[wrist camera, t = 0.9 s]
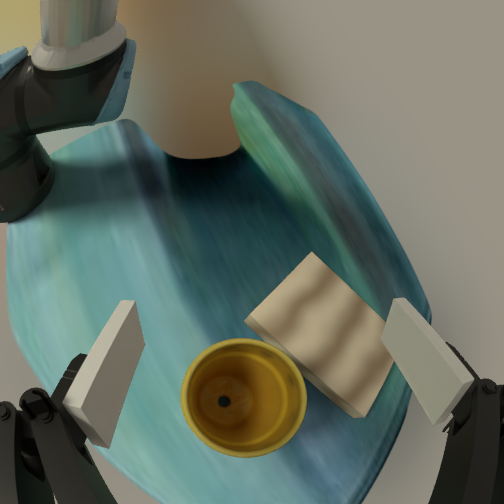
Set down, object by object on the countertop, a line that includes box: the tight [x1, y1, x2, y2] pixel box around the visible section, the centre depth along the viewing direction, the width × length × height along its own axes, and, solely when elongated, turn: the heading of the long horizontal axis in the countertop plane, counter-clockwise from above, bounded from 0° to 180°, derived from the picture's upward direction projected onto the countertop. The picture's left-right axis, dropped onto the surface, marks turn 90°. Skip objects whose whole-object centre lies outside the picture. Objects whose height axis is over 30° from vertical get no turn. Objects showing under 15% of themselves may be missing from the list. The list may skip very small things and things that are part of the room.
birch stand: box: [244, 252, 394, 418], centre depth 34 cm, size 20×14×2 cm
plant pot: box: [181, 338, 307, 458], centre depth 23 cm, size 10×10×10 cm
